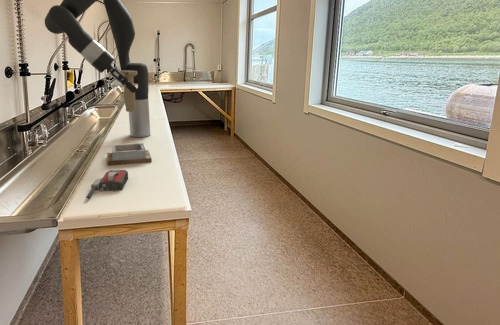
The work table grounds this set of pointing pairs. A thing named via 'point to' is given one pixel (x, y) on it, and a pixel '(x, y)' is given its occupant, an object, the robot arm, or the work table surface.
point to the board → (132, 161)
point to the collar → (128, 151)
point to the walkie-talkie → (109, 182)
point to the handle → (128, 94)
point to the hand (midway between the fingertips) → (134, 90)
